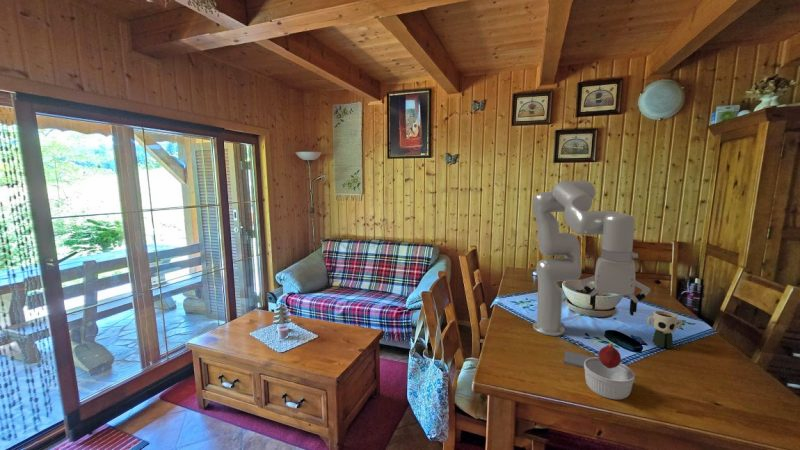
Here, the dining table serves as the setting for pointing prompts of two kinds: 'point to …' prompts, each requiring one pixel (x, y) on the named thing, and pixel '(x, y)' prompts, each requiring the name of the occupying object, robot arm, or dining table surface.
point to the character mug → (664, 327)
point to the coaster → (575, 359)
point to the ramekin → (608, 379)
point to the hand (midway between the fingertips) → (611, 310)
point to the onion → (609, 356)
